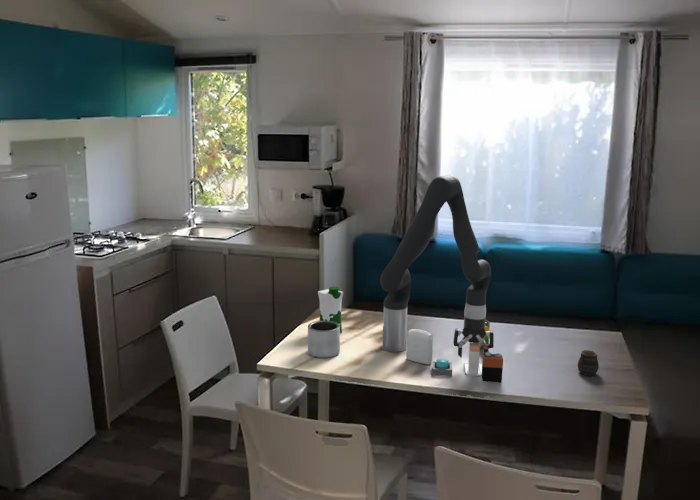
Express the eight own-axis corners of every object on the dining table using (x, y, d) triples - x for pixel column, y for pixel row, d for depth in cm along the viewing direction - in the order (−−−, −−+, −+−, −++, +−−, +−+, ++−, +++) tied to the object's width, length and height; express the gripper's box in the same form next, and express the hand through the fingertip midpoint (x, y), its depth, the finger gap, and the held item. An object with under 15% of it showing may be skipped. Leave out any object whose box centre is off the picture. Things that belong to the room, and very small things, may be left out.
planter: (312, 345, 265) (312, 319, 262) (343, 348, 263) (343, 321, 260) (303, 357, 253) (303, 329, 250) (335, 360, 251) (336, 332, 248)
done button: (436, 370, 239) (436, 362, 238) (436, 365, 243) (436, 358, 242) (448, 371, 238) (448, 363, 237) (448, 366, 242) (448, 358, 242)
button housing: (432, 375, 238) (432, 368, 237) (432, 367, 245) (432, 361, 244) (451, 376, 237) (452, 370, 236) (451, 368, 244) (451, 362, 243)
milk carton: (329, 337, 274) (329, 291, 269) (315, 331, 280) (315, 286, 276) (345, 332, 280) (345, 287, 275) (331, 327, 286) (331, 282, 282)
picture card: (465, 375, 238) (465, 373, 238) (463, 364, 248) (463, 362, 247) (499, 377, 236) (500, 375, 236) (497, 366, 246) (497, 364, 246)
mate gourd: (596, 370, 243) (599, 344, 241) (599, 378, 236) (602, 352, 234) (576, 368, 245) (578, 343, 242) (578, 376, 238) (580, 350, 235)
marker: (468, 372, 239) (470, 346, 237) (468, 368, 242) (469, 342, 240) (478, 372, 239) (479, 346, 236) (477, 368, 242) (479, 343, 240)
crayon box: (472, 344, 268) (473, 317, 265) (478, 343, 269) (479, 316, 266) (482, 350, 261) (483, 322, 259) (488, 349, 262) (490, 321, 260)
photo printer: (404, 359, 252) (405, 328, 249) (410, 356, 255) (411, 325, 252) (428, 366, 246) (429, 334, 243) (433, 362, 249) (435, 331, 247)
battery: (481, 376, 237) (482, 350, 234) (500, 378, 236) (502, 351, 234) (482, 382, 232) (483, 355, 230) (501, 383, 232) (503, 356, 229)
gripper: (455, 317, 235) (453, 360, 239) (496, 319, 233) (493, 362, 237) (454, 310, 242) (452, 352, 246) (494, 312, 240) (491, 354, 244)
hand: (472, 357), depth 241 cm, fingers open, 8 cm apart
